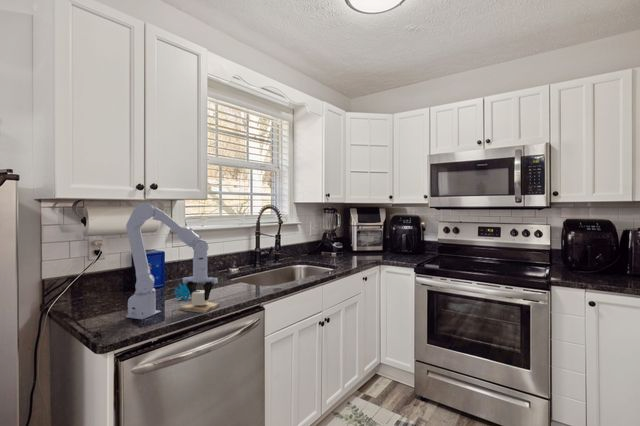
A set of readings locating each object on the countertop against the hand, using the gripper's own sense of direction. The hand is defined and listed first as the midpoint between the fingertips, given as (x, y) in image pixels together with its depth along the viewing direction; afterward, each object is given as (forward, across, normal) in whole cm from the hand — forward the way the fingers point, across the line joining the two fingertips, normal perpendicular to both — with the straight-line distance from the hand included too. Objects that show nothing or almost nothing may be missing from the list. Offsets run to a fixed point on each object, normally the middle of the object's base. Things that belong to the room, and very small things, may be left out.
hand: (200, 299), depth 138 cm
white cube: (+2, 0, 0) cm, 2 cm away
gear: (+4, -12, +13) cm, 18 cm away
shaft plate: (+3, 0, 0) cm, 3 cm away
